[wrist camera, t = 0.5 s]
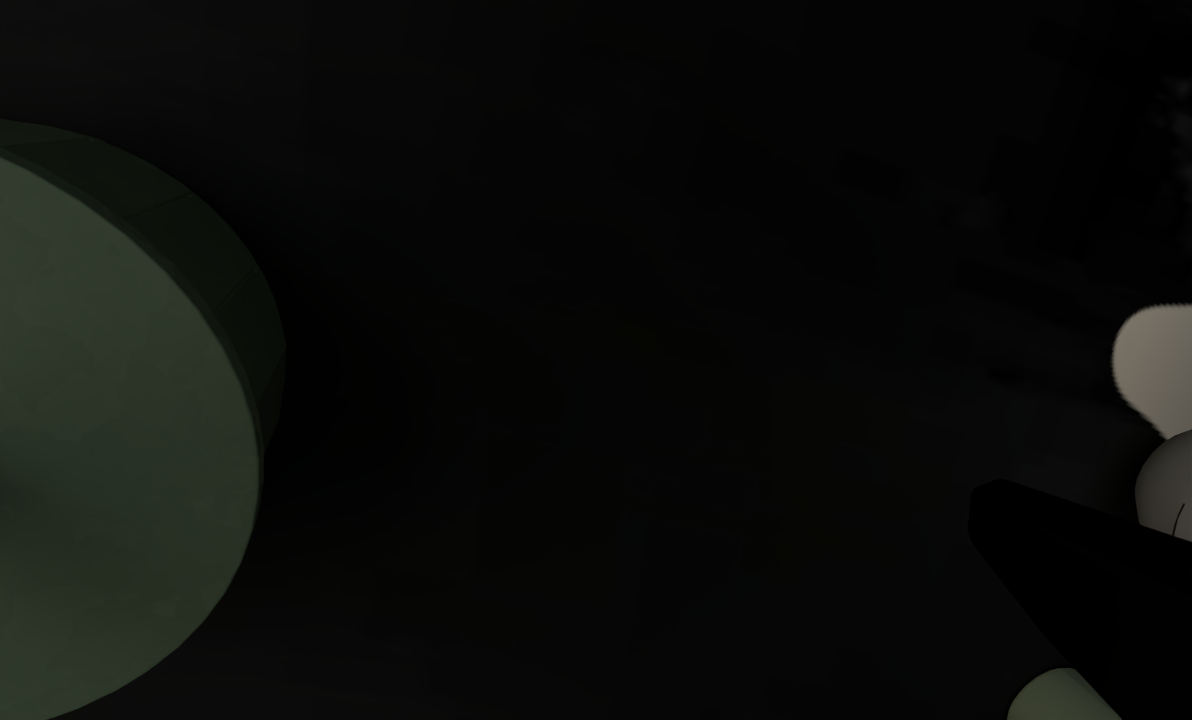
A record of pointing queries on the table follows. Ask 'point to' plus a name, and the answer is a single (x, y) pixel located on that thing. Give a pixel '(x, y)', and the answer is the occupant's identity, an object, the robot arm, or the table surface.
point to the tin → (175, 244)
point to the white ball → (1167, 488)
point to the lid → (108, 450)
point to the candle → (1060, 699)
